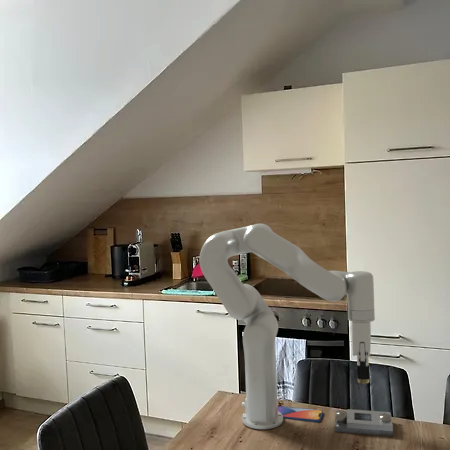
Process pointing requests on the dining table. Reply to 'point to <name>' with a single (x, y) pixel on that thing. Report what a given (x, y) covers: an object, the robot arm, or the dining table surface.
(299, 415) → the smartphone
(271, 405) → the robot arm
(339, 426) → the grey block with knobs
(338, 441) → the dining table surface
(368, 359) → the pin
